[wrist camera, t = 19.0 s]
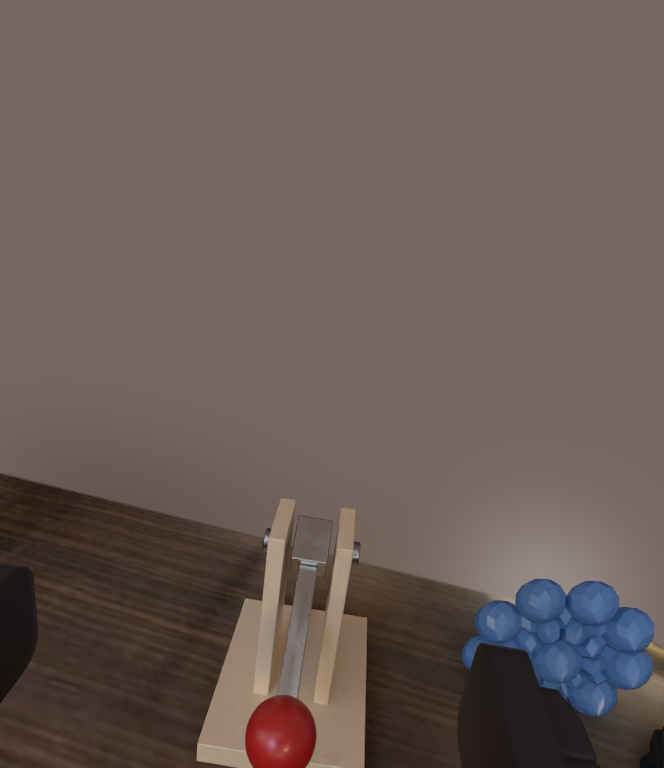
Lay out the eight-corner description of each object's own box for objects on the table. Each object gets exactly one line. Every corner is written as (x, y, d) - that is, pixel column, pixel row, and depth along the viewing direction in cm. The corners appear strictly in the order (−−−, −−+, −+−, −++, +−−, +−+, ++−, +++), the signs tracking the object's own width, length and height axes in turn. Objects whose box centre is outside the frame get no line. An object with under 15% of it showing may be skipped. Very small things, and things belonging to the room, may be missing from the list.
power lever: (309, 789, 26) (311, 785, 23) (239, 776, 26) (234, 771, 23) (340, 541, 35) (345, 517, 32) (287, 533, 35) (287, 509, 32)
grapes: (603, 688, 40) (655, 560, 36) (630, 776, 33) (698, 633, 29) (452, 645, 42) (485, 520, 38) (450, 720, 35) (490, 580, 31)
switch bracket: (360, 789, 30) (399, 606, 26) (196, 761, 31) (205, 575, 26) (364, 631, 42) (392, 485, 37) (244, 612, 42) (256, 464, 38)
